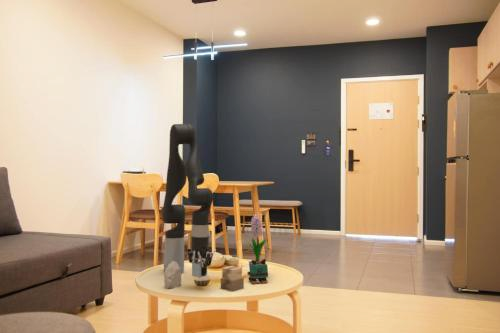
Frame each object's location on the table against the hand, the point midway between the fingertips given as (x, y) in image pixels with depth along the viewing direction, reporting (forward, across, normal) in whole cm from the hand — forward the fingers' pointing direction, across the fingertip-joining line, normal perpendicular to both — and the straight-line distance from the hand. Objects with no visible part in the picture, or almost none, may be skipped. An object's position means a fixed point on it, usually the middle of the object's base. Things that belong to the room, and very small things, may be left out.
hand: (199, 274), depth 188 cm
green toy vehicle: (+6, +12, +25) cm, 29 cm away
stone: (+7, -11, -6) cm, 14 cm away
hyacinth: (+7, +7, +32) cm, 33 cm away
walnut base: (+6, +11, +9) cm, 15 cm away
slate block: (+1, 0, 0) cm, 1 cm away
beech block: (+2, +10, +9) cm, 14 cm away
